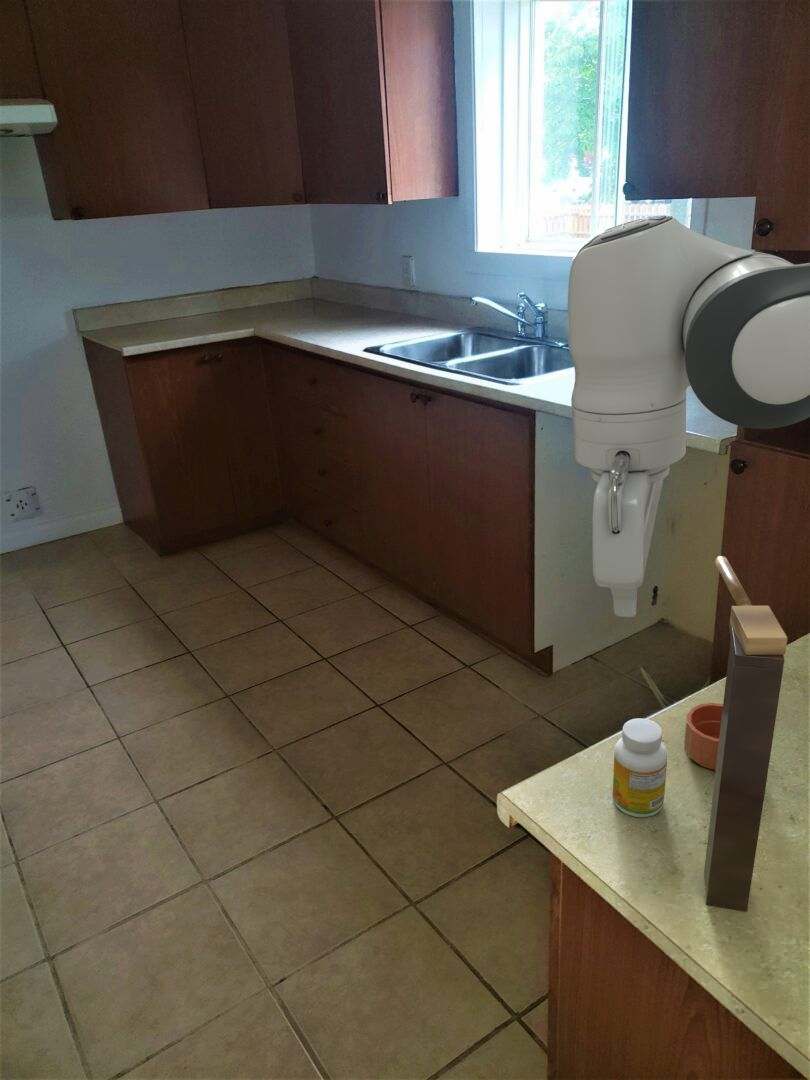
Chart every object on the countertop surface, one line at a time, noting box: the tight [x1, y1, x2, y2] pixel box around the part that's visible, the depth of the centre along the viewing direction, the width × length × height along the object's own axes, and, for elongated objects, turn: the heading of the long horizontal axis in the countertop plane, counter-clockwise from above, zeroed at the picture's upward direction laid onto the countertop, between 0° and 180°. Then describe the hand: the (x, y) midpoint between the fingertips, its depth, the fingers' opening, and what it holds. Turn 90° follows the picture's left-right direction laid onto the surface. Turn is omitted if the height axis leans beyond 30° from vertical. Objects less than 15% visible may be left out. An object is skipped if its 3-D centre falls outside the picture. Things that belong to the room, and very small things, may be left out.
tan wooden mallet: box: [714, 555, 788, 656], centre depth 70 cm, size 15×3×2 cm, turn 174°
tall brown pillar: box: [703, 621, 785, 913], centre depth 73 cm, size 4×6×28 cm, turn 164°
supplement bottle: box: [612, 717, 668, 818], centre depth 87 cm, size 5×5×10 cm
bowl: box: [683, 702, 723, 771], centre depth 94 cm, size 7×7×4 cm
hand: (631, 586), depth 71 cm, fingers open, 8 cm apart
